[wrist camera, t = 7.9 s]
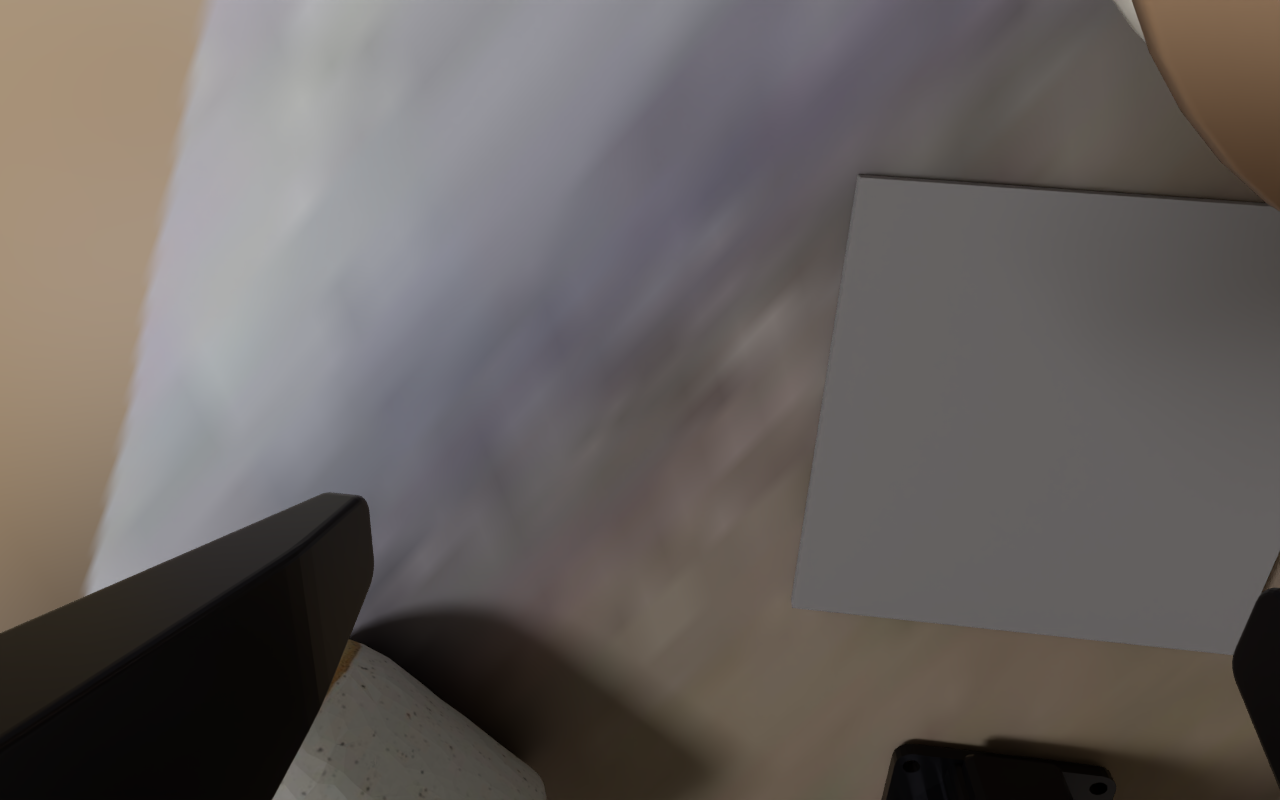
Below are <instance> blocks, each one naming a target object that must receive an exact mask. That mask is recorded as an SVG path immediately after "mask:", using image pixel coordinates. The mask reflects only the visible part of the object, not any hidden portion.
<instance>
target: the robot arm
mask: <svg viewBox="0 0 1280 800" xmlns="http://www.w3.org/2000/svg"><path fill="white" fill-rule="evenodd" d="M373 571H374V556H373V546H372V535H371V525H370V514H369V507H368V505H367V502H366V500H365V499H364V498H363V497H362V496H359V495H351V494H341V493H331V492H329V493H323V494H320V495H318V496H316V497H313V498H311V499H309V500H307V501H304V502H302V503H300V504H297V505H295V506H293V507H290V508H288V509H286V510H283V511H281V512H279V513H277V514H274V515H272V516H270V517H267V518H265V519H263V520H260V521H258V522H256V523H253V524H251V525H249V526H247V527H244V528H242V529H240V530H237V531H235V532H233V533H230V534H228V535H226V536H223V537H221V538H219V539H217V540H214V541H212V542H210V543H207V544H205V545H203V546H200V547H198V548H196V549H194V550H191V551H189V552H187V553H184V554H182V555H180V556H177V557H175V558H173V559H170V560H168V561H166V562H164V563H161V564H159V565H157V566H154V567H152V568H150V569H147V570H145V571H143V572H140V573H138V574H136V575H134V576H131V577H129V578H127V579H124V580H122V581H120V582H117V583H115V584H113V585H110V586H108V587H106V588H104V589H101V590H99V591H97V592H94V593H92V594H90V595H87V596H85V597H83V598H80V599H78V600H76V601H74V602H71V603H69V604H67V605H64V606H62V607H60V608H57V609H55V610H53V611H50V612H48V613H46V614H44V615H41V616H39V617H37V618H34V619H32V620H30V621H27V622H25V623H23V624H21V625H18V626H16V627H14V628H11V629H9V630H7V631H4V632H2V633H0V800H272V799H273V797H274V796H275V794H276V792H277V790H278V788H279V786H280V784H281V783H282V781H283V779H284V777H285V775H286V773H287V771H288V769H289V768H290V766H291V764H292V762H293V760H294V758H295V756H296V755H297V753H298V751H299V749H300V747H301V745H302V743H303V741H304V740H305V738H306V736H307V734H308V732H309V730H310V728H311V726H312V724H313V722H314V720H315V718H316V716H317V714H318V712H319V710H320V708H321V706H322V704H323V701H324V699H325V697H326V694H327V692H328V690H329V687H330V685H331V682H332V680H333V677H334V675H335V672H336V670H337V667H338V665H339V662H340V660H341V657H342V655H343V652H344V650H345V647H346V645H347V642H348V640H349V637H350V635H351V632H352V630H353V627H354V625H355V622H356V620H357V617H358V615H359V612H360V610H361V607H362V604H363V602H364V599H365V597H366V594H367V592H368V589H369V587H370V584H371V581H372V577H373ZM1232 668H1233V674H1234V678H1235V681H1236V684H1237V686H1238V689H1239V691H1240V693H1241V696H1242V698H1243V701H1244V703H1245V706H1246V708H1247V711H1248V713H1249V715H1250V718H1251V720H1252V723H1253V725H1254V728H1255V730H1256V732H1257V735H1258V737H1259V740H1260V742H1261V745H1262V747H1263V750H1264V752H1265V754H1266V757H1267V759H1268V762H1269V764H1270V767H1271V769H1272V772H1273V774H1274V776H1275V779H1276V781H1277V784H1278V786H1279V789H1280V588H1271V589H1268V590H1266V591H1264V592H1263V593H1262V594H1261V595H1260V596H1259V597H1258V599H1257V601H1256V603H1255V605H1254V607H1253V609H1252V612H1251V614H1250V616H1249V619H1248V621H1247V623H1246V625H1245V628H1244V630H1243V632H1242V635H1241V637H1240V639H1239V641H1238V644H1237V646H1236V648H1235V651H1234V654H1233V661H1232ZM909 760H914V761H913V762H907V761H909ZM1095 783H1096V784H1095ZM1115 791H1116V784H1115V782H1114V780H1113V778H1112V776H1111V774H1110V772H1109V771H1108V770H1107V769H1106V768H1104V767H1100V766H1095V765H1087V764H1078V763H1069V762H1061V761H1052V760H1044V759H1035V758H1027V757H1018V756H1010V755H1001V754H993V753H984V752H976V751H967V750H959V749H950V748H941V747H933V746H924V745H916V744H905V745H902V746H899V747H898V748H896V749H895V750H894V752H893V754H892V758H891V763H890V767H889V771H888V775H887V779H886V783H885V787H884V792H883V796H882V800H1112V799H1113V797H1114V794H1115Z"/></svg>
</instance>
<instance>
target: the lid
mask: <svg viewBox="0 0 1280 800" xmlns="http://www.w3.org/2000/svg"><path fill="white" fill-rule="evenodd" d="M1132 3H1133V6H1134V9H1135V12H1136V15H1137V18H1138V21H1139V23H1140V26H1141V29H1142V32H1143V35H1144V38H1145V41H1146V44H1147V47H1148V50H1149V53H1150V54H1151V56H1152V58H1153V60H1154V62H1155V64H1156V66H1157V67H1158V69H1159V71H1160V73H1161V75H1162V77H1163V79H1164V80H1165V82H1166V84H1167V86H1168V88H1169V90H1170V92H1171V93H1172V95H1173V97H1174V99H1175V101H1176V103H1177V105H1178V107H1179V108H1180V110H1181V112H1182V113H1183V114H1184V116H1185V117H1186V118H1187V119H1188V121H1189V122H1190V123H1191V125H1192V126H1193V127H1194V128H1195V130H1196V131H1197V132H1198V134H1199V135H1200V136H1201V137H1202V139H1203V140H1204V141H1205V143H1206V144H1207V145H1208V146H1209V148H1210V149H1211V150H1212V151H1213V153H1214V154H1215V155H1216V157H1217V158H1218V159H1219V160H1220V162H1222V163H1223V164H1224V165H1225V166H1226V167H1227V168H1228V169H1229V170H1230V171H1231V172H1233V173H1234V174H1235V175H1236V176H1237V177H1238V178H1239V179H1240V180H1241V181H1243V182H1244V183H1245V184H1246V185H1247V186H1248V187H1249V188H1250V189H1251V190H1252V191H1254V192H1255V193H1256V194H1257V195H1258V196H1259V197H1260V198H1261V199H1262V200H1263V201H1265V202H1266V203H1267V204H1269V205H1270V206H1272V207H1273V208H1275V209H1276V210H1278V211H1280V0H1132Z"/></svg>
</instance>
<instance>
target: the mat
mask: <svg viewBox="0 0 1280 800" xmlns="http://www.w3.org/2000/svg"><path fill="white" fill-rule="evenodd" d="M1279 551H1280V211H1278V210H1276V209H1275V208H1273V207H1272V206H1270V205H1269V204H1267V203H1255V202H1241V201H1227V200H1213V199H1199V198H1185V197H1171V196H1156V195H1142V194H1128V193H1114V192H1100V191H1086V190H1072V189H1058V188H1043V187H1029V186H1015V185H1001V184H987V183H973V182H959V181H945V180H930V179H916V178H902V177H888V176H874V175H860V174H858V176H857V182H856V189H855V195H854V202H853V208H852V214H851V221H850V227H849V233H848V240H847V246H846V253H845V259H844V265H843V272H842V278H841V285H840V291H839V297H838V304H837V310H836V316H835V323H834V329H833V336H832V342H831V348H830V355H829V361H828V368H827V374H826V380H825V387H824V393H823V399H822V406H821V412H820V419H819V425H818V431H817V438H816V444H815V451H814V457H813V463H812V470H811V476H810V483H809V489H808V495H807V502H806V508H805V514H804V521H803V527H802V534H801V540H800V546H799V553H798V559H797V566H796V572H795V578H794V585H793V591H792V597H791V602H792V608H798V609H808V610H817V611H826V612H836V613H845V614H854V615H864V616H873V617H882V618H892V619H901V620H910V621H920V622H929V623H938V624H948V625H957V626H966V627H976V628H985V629H994V630H1004V631H1013V632H1022V633H1032V634H1041V635H1050V636H1060V637H1069V638H1078V639H1088V640H1097V641H1106V642H1116V643H1125V644H1134V645H1144V646H1153V647H1162V648H1172V649H1181V650H1190V651H1200V652H1209V653H1218V654H1228V655H1233V654H1234V651H1235V648H1236V646H1237V644H1238V641H1239V639H1240V637H1241V635H1242V632H1243V630H1244V628H1245V625H1246V623H1247V621H1248V619H1249V616H1250V614H1251V612H1252V609H1253V607H1254V605H1255V603H1256V601H1257V599H1258V597H1259V596H1260V595H1261V592H1262V590H1263V588H1264V585H1265V583H1266V581H1267V579H1268V576H1269V574H1270V572H1271V570H1272V567H1273V565H1274V563H1275V560H1276V558H1277V556H1278V554H1279Z"/></svg>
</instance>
